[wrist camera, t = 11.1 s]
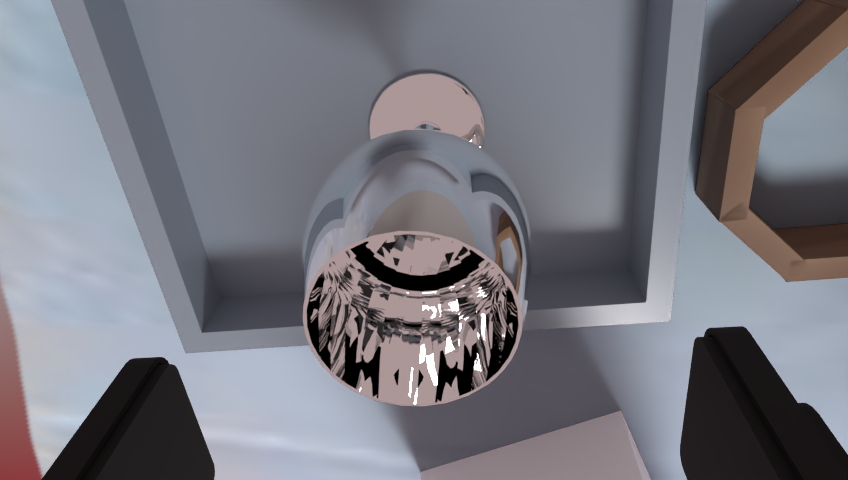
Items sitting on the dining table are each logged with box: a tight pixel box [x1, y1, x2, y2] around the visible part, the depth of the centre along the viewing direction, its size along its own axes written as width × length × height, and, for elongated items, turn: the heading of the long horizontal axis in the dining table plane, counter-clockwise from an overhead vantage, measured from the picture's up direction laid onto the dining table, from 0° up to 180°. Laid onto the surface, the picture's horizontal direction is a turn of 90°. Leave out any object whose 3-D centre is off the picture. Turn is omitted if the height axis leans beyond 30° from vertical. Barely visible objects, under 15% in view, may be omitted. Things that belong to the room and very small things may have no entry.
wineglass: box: [300, 72, 533, 406], centre depth 18 cm, size 6×6×12 cm
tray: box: [51, 0, 707, 353], centre depth 23 cm, size 16×20×4 cm
